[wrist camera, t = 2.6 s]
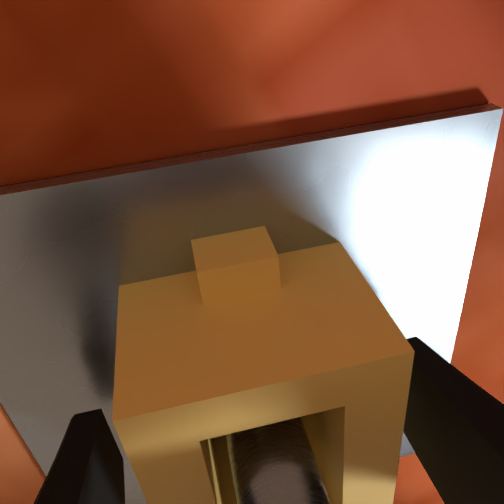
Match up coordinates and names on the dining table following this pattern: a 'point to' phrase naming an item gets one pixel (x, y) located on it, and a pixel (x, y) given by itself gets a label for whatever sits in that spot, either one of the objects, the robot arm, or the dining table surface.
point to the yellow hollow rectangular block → (259, 369)
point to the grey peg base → (225, 221)
